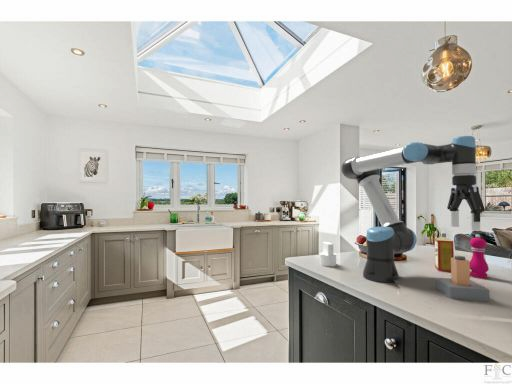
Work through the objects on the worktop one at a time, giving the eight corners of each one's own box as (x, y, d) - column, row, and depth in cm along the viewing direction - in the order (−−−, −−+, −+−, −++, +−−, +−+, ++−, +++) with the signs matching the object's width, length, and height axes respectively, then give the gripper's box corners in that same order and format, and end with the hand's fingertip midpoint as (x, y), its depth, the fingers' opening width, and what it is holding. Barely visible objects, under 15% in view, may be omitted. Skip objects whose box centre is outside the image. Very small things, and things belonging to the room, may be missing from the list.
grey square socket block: (450, 301, 95) (450, 287, 95) (435, 290, 107) (435, 277, 107) (489, 304, 92) (489, 289, 92) (470, 292, 104) (470, 279, 104)
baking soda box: (454, 272, 133) (453, 240, 133) (438, 270, 136) (437, 239, 136) (449, 267, 141) (448, 238, 142) (435, 266, 144) (434, 237, 145)
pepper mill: (492, 279, 121) (491, 235, 122) (474, 278, 123) (473, 235, 123) (482, 274, 128) (481, 233, 129) (465, 274, 130) (464, 233, 130)
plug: (457, 295, 98) (456, 257, 98) (451, 291, 102) (450, 255, 102) (470, 296, 97) (469, 258, 97) (464, 292, 101) (463, 255, 101)
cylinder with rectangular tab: (317, 262, 153) (317, 241, 154) (332, 262, 154) (332, 241, 155) (323, 266, 144) (323, 244, 145) (339, 266, 145) (338, 244, 146)
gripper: (497, 172, 93) (498, 232, 92) (456, 177, 117) (457, 225, 117) (473, 172, 94) (473, 232, 93) (437, 177, 119) (438, 225, 118)
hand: (464, 228), depth 105 cm, fingers open, 13 cm apart
